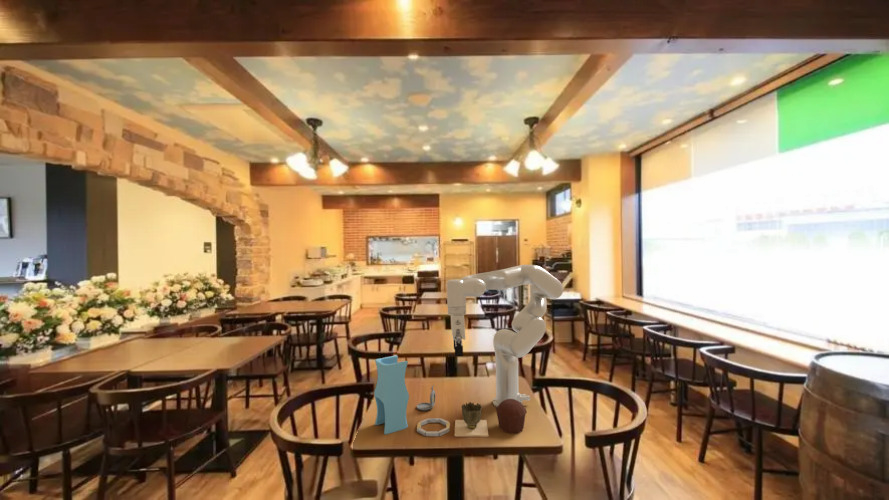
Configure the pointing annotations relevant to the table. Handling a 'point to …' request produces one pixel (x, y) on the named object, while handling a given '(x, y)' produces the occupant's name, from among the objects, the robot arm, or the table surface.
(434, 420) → the socket ring
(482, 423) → the cork mat
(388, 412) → the vase
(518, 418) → the muffin
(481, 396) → the table surface
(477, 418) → the cup
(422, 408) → the pocket watch
